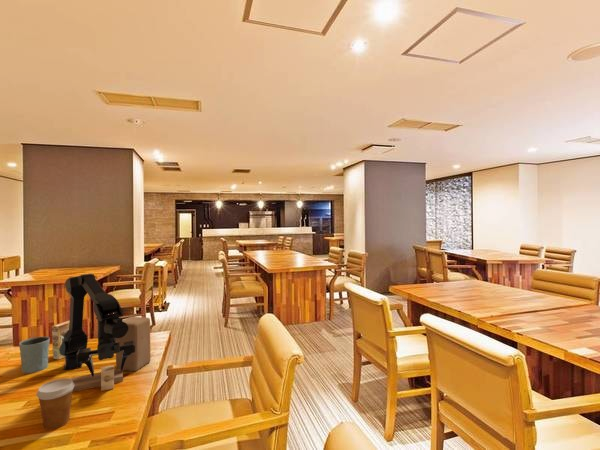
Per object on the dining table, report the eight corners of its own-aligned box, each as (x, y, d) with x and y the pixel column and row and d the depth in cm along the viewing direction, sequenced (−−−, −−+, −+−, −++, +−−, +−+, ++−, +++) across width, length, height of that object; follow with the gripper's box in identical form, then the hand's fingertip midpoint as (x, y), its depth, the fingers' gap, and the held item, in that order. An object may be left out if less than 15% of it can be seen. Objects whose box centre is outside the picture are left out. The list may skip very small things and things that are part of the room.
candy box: (59, 360, 148) (58, 326, 148) (52, 359, 149) (51, 325, 149) (77, 352, 157) (76, 320, 156) (70, 351, 158) (69, 319, 158)
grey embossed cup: (16, 376, 133) (15, 346, 133) (23, 366, 142) (22, 338, 142) (47, 370, 138) (47, 342, 138) (52, 361, 147) (52, 334, 147)
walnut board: (54, 386, 125) (54, 381, 125) (123, 372, 136) (123, 368, 136) (50, 396, 118) (49, 390, 118) (122, 381, 129) (122, 376, 129)
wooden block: (136, 372, 136) (135, 324, 136) (115, 370, 138) (114, 322, 138) (151, 362, 146) (150, 317, 146) (131, 360, 148) (131, 315, 148)
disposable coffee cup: (69, 410, 110) (68, 374, 109) (79, 421, 103) (78, 384, 103) (33, 424, 102) (32, 386, 102) (42, 437, 96) (41, 396, 96)
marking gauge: (103, 376, 132) (103, 359, 132) (114, 374, 134) (114, 357, 134) (100, 392, 120) (100, 373, 120) (113, 389, 122) (113, 371, 122)
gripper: (73, 344, 112) (74, 389, 113) (135, 335, 121) (135, 377, 122) (78, 333, 122) (78, 375, 123) (134, 326, 131) (135, 364, 131)
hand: (107, 373), depth 124 cm, fingers open, 9 cm apart
